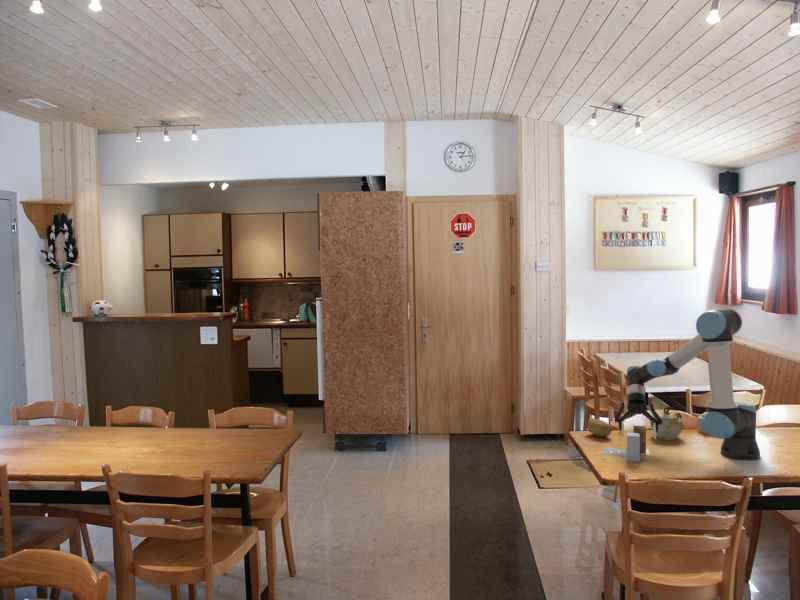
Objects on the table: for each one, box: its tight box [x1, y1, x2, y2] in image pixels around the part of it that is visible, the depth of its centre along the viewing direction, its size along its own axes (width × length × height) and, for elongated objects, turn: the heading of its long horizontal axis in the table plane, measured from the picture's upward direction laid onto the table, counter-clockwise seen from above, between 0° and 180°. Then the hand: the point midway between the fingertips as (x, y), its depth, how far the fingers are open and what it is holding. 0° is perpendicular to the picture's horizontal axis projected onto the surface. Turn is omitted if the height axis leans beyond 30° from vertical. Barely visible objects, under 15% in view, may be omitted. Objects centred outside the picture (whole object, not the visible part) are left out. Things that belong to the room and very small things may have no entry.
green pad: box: [640, 448, 650, 456], centre depth 277 cm, size 8×8×1 cm
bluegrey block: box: [626, 432, 641, 462], centre depth 266 cm, size 5×5×11 cm
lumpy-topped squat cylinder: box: [697, 411, 711, 435], centre depth 308 cm, size 10×13×9 cm
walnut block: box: [632, 425, 647, 454], centre depth 277 cm, size 5×5×11 cm
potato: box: [587, 418, 613, 438], centre depth 303 cm, size 10×14×8 cm
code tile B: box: [622, 456, 644, 464], centre depth 267 cm, size 8×8×1 cm
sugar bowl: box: [649, 406, 685, 441], centre depth 299 cm, size 20×15×15 cm
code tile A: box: [602, 447, 627, 457], centre depth 278 cm, size 10×10×1 cm
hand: (638, 436), depth 278 cm, fingers open, 13 cm apart
